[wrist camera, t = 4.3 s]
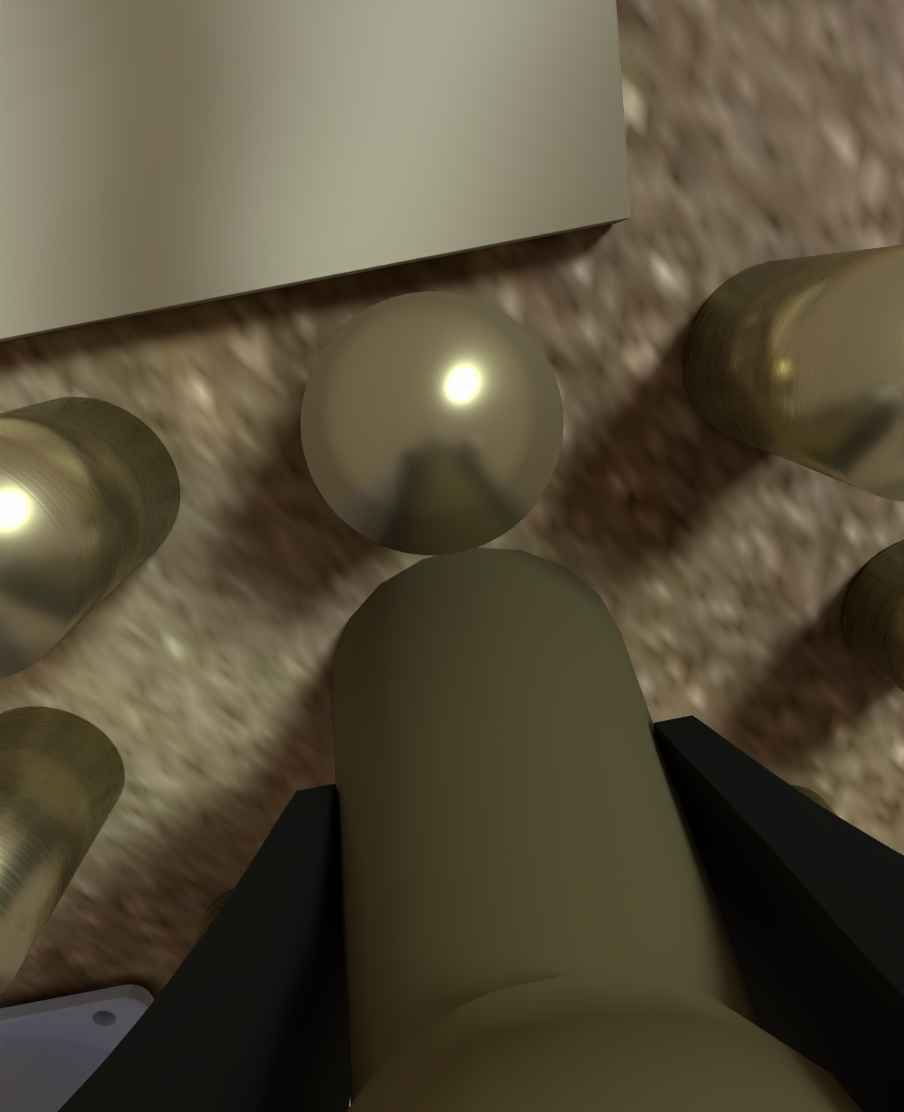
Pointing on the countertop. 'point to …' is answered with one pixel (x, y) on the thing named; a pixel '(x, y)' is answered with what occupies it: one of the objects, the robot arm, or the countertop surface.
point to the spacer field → (418, 491)
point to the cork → (528, 867)
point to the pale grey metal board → (289, 143)
